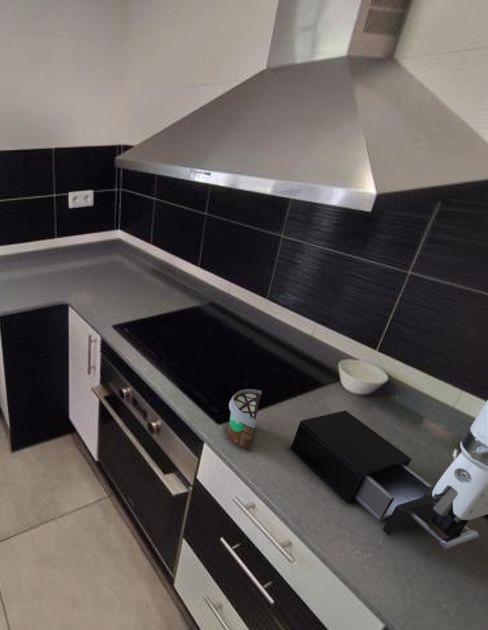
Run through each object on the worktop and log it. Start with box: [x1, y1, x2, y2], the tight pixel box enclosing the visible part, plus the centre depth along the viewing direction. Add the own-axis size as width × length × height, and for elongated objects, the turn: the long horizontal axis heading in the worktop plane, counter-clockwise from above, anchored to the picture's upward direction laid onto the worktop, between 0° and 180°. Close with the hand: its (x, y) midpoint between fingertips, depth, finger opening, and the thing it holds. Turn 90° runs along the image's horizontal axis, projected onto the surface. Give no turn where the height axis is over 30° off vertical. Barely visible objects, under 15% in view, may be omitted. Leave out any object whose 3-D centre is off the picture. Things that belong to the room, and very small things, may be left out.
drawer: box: [353, 464, 480, 549], centre depth 71 cm, size 20×11×7 cm, turn 15°
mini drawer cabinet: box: [290, 410, 412, 504], centre depth 81 cm, size 15×13×9 cm
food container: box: [227, 388, 263, 451], centre depth 90 cm, size 12×6×10 cm, turn 150°
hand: (443, 528), depth 65 cm, fingers closed
